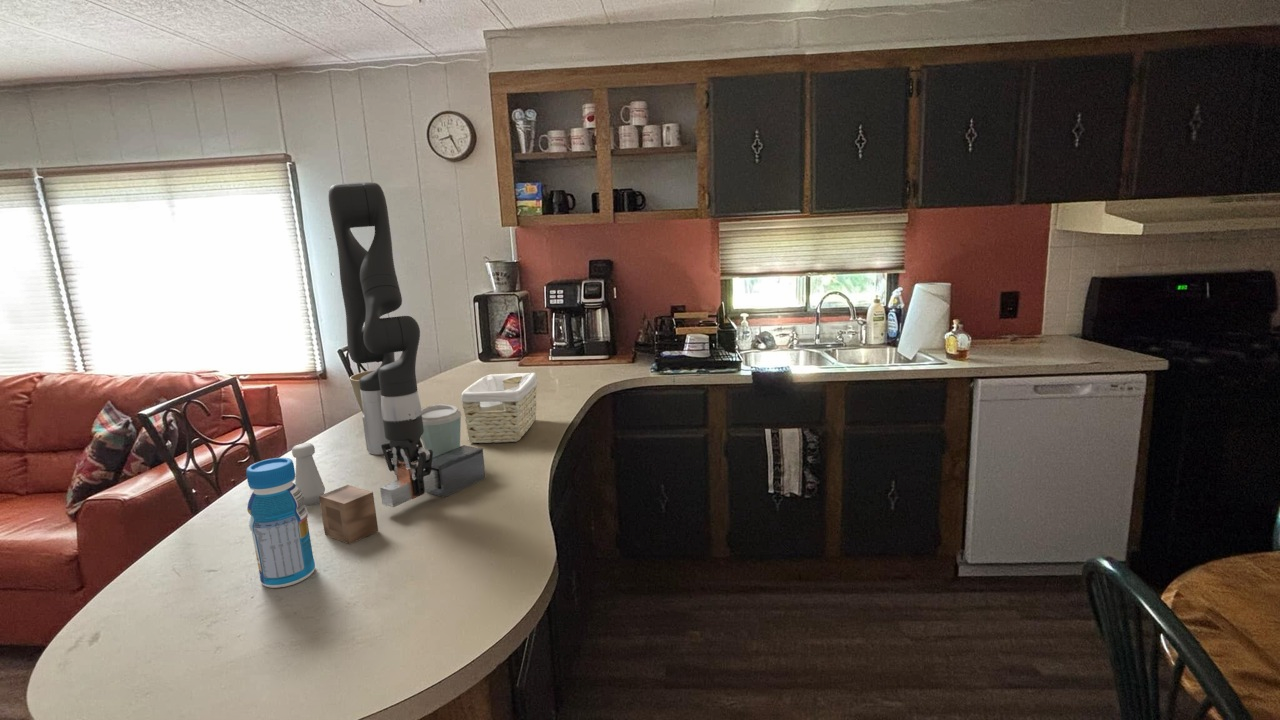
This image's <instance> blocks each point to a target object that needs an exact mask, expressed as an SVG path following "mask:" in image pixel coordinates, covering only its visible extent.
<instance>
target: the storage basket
mask: <svg viewBox="0 0 1280 720" xmlns="http://www.w3.org/2000/svg"><path fill="white" fill-rule="evenodd" d="M505 384H512V385H513V384H514V385H515V384H517V385H516V386H513V387H511V388H507V389H505ZM537 387H538V381H537V373H536V372H525V373H524V372H520V373H517V372H516V373H498V374H497V373H493V374H491V373H490V374H488V375H485V376H482V377H481V378H479V379H478V380H476V381H475V382H473V383H472V384H471V385H469V386H468V387H466V388H465V389H464V390H463V391H462V393H461V394H460V396H461V402H462V404H461V405H462V409H463V414H464V418H465V419H464V420H465V424H466V430H467V431H466V432H467V436H468V437H467V438H468V439H467V441H469V443H473V444H476V443H479V444H483V443H484V444H491V443H495V444H499V443H517V442H519V441H520V440H521V439H522V437H524V435H525V434H526V433H527V432H528V430H529V429H530V428H531V426H533V423H535V421H536V420H537V412H536V411H537Z"/></svg>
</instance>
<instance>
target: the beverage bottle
mask: <svg viewBox="0 0 1280 720" xmlns="http://www.w3.org/2000/svg"><path fill="white" fill-rule="evenodd" d="M245 470H246V474H245V475H246V479H247V484H248V487H249V489H250V491H251V490H252V492H251V495H250V497H249V500H248V503H247V510H246V511H247V513H248V514H249V515H250V519H249V522H248V524H249V525H248V526H249V530H250V531H251V534H252V540H253V547H254V550H255V556H256V562H257V566H258V572H259V573H258V574H259V579H260V583H261V584H262V585H263V586H265V587H266V588H271V589H272V588H273V589H277V588H285V587H290V586H293V585H296V584H299V583H300V582H302V581H303V582H304V581H305V580H306V579H307V578H309V577H310V576H312V574H313V573H314V571H315V569H316V562H315V559H314V554H313V553H314V552H313V549H312V540H311V536H310V528H309V522H308V516H309V515H308V514H309V513H308V508H307V507H306V506H304V505H303V501H304V495H303V493H302V492H301V490H300V489H299V488H298V487H297V486H296V485H295V483H294V481H295V476H296V469H295V464H294V462H293V459H291V458H288V457H274V458H268V459H264V460H260V461H257V462H254V463H253V464H250V465H249V466H247V468H246V469H245Z"/></svg>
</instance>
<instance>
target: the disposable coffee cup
mask: <svg viewBox="0 0 1280 720" xmlns="http://www.w3.org/2000/svg"><path fill="white" fill-rule="evenodd" d="M421 413H422V421H423V429H424V432H423V434H422V435H421V437H420V440H421V443H422V445H423V448H424V449H426V450H429V449H431V450H432V451H433V456H432V458H433V457H435V456H438V455H440V454H443V453H445V452H448V451H450V450H453V449H455V448H458V447H461V426H462V425H461V421H462V420H461V417H462V412H461V411H460V410H459V408H457V407H456V406H455V405H452V404H445V403H444V404H443V403H441V404H439V403H437V404H433V405H428V406H425V407H424V406H423V407H421Z"/></svg>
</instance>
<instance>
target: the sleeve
mask: <svg viewBox="0 0 1280 720" xmlns="http://www.w3.org/2000/svg"><path fill="white" fill-rule="evenodd" d="M485 466H486V465H485V458H484V449H483V448H480V447H476V446H475V447H474V446H470V445H464V444H463V445H460V447H458V448H455V449H453V450H450V451H448V452H445V453H443V454H440V455H438V456H435V457H433V458H432V465H431V467H432V468H436V469H439V473H440V482H441V486H440V487H438V488H436V489H433V490H431V491H429V492H427V493H426V494H431V495H433V496H434V495H435V496H438V497H443V498H446V497H449V496H451V495H452V494H455V493H457V492H459V491H461V490H464V489H465V488H468V487H470V486H472V485H474V484H477V483H478V482H481V481H483V480H485V479H486V467H485ZM424 469H425V468H424Z"/></svg>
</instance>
